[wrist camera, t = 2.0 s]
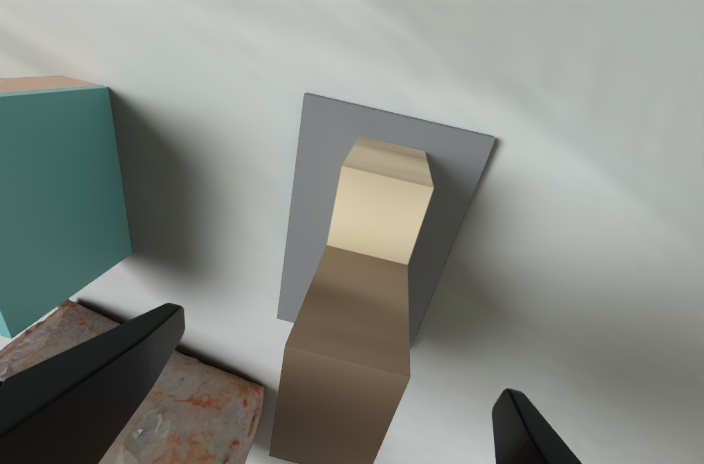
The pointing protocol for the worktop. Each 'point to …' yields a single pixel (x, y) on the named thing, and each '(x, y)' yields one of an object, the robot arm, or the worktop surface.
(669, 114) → the worktop surface
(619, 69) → the worktop surface
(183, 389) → the food item
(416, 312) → the pad
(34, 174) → the tile
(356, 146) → the cream brown stepped block
